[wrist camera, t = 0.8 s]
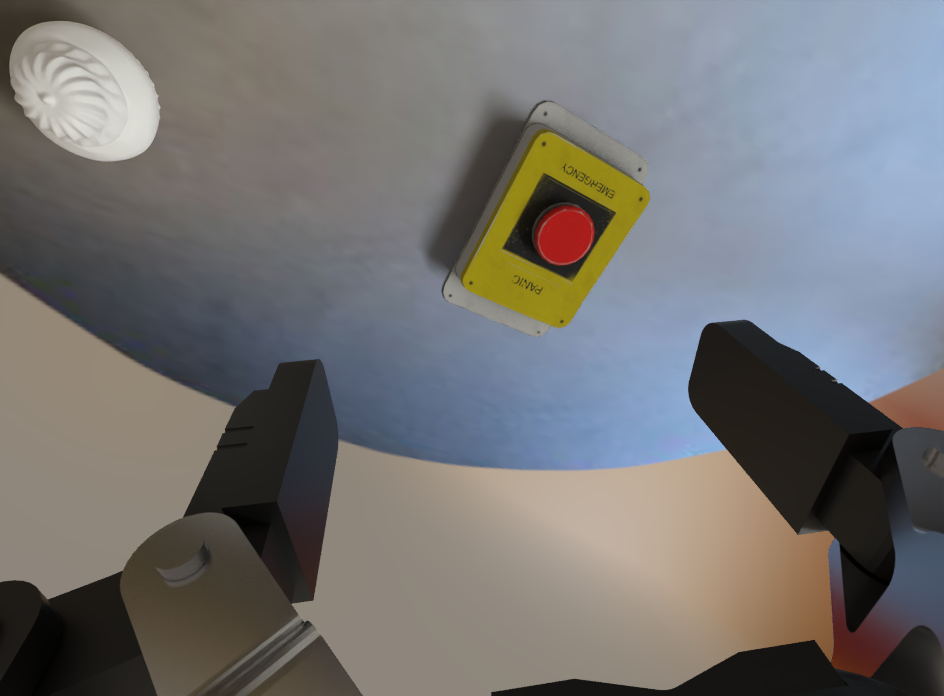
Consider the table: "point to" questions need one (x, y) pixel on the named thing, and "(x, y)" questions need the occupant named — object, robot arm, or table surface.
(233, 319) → the table surface
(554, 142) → the emergency button
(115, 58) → the white rounded piece
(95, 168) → the table surface
